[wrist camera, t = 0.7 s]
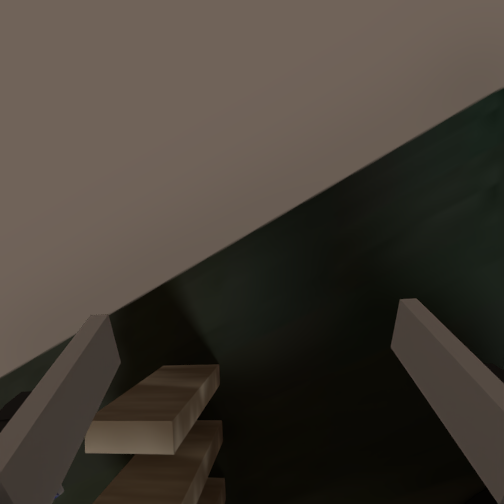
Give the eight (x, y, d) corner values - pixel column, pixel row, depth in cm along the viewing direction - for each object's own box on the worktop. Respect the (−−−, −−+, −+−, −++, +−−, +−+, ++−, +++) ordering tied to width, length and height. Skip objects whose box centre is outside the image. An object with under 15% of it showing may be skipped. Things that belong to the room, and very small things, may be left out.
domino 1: (220, 384, 30) (173, 454, 19) (164, 385, 31) (85, 453, 19) (219, 364, 31) (172, 421, 19) (163, 365, 31) (84, 420, 20)
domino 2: (222, 441, 30) (177, 549, 18) (166, 440, 31) (86, 544, 19) (221, 420, 30) (176, 514, 18) (165, 420, 31) (86, 510, 19)
